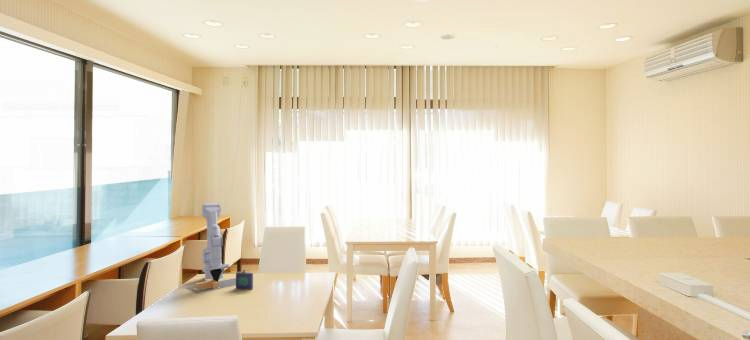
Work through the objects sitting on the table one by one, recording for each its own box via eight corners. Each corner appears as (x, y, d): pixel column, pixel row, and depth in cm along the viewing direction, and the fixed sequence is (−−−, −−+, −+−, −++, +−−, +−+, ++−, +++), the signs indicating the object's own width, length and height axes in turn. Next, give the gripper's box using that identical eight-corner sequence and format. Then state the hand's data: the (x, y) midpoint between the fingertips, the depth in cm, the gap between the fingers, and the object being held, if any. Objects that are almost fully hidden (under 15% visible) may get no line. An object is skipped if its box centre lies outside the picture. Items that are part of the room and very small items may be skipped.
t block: (209, 284, 254) (209, 278, 254) (218, 287, 247) (218, 282, 247) (192, 287, 247) (192, 282, 247) (200, 291, 240) (200, 285, 240)
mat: (237, 278, 268) (237, 277, 268) (250, 282, 259) (250, 282, 259) (185, 288, 246) (185, 287, 246) (196, 293, 236) (196, 293, 236)
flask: (253, 288, 247) (253, 268, 247) (251, 290, 244) (251, 270, 244) (236, 288, 248) (236, 268, 247) (234, 289, 245) (234, 269, 245)
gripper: (206, 261, 243) (206, 286, 243) (231, 257, 254) (231, 281, 254) (200, 259, 248) (200, 284, 248) (225, 255, 258) (225, 279, 259)
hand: (215, 282), depth 251 cm, fingers closed
